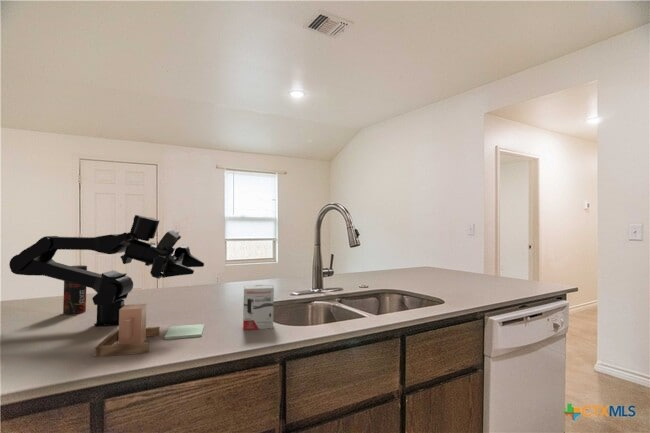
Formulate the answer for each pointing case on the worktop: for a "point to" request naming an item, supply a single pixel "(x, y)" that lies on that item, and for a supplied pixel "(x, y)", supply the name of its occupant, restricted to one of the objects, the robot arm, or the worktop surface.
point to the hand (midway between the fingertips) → (198, 268)
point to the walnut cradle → (108, 349)
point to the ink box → (258, 306)
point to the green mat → (184, 331)
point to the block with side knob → (132, 324)
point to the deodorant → (74, 297)
